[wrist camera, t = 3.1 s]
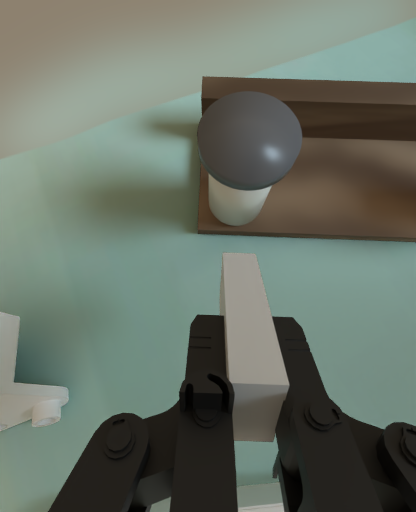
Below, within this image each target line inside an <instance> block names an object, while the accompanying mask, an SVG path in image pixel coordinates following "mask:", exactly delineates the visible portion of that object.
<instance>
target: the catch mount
mask: <svg viewBox="0 0 416 512" xmlns="http://www.w3.org/2000/svg"><path fill="white" fill-rule="evenodd" d="M243 91H253V92H260V93H264V94H267V95H270V96H273V97H275V98H277V99H278V100H280V101H282V102H283V103H284V104H286V105H287V106H288V107H289V108H290V109H291V110H292V112H293V113H294V114H295V116H296V117H297V119H298V121H299V124H300V127H301V130H302V145H301V149H300V152H299V154H298V156H297V158H296V160H295V162H294V164H293V166H292V168H291V170H290V171H289V172H288V174H287V175H286V176H285V177H284V178H283V179H282V180H280V181H279V182H278V183H276V184H274V185H272V187H271V189H270V191H269V193H268V195H267V198H266V200H265V202H264V204H263V207H262V209H261V211H260V213H259V214H258V216H257V217H256V218H255V219H254V220H253V221H251V222H250V223H247V224H245V225H240V226H232V225H228V224H225V223H223V222H221V221H219V220H218V219H217V218H216V217H215V216H214V215H213V213H212V212H211V210H210V207H209V173H208V172H207V171H206V169H205V168H204V166H203V164H202V162H201V173H200V192H199V211H198V234H220V235H247V236H273V237H300V238H326V239H353V240H379V241H406V242H416V83H397V82H365V81H332V80H299V79H267V78H233V77H203V80H202V96H201V101H202V115H203V114H204V112H205V111H206V110H207V109H208V107H209V106H210V105H212V104H213V103H214V102H215V101H217V100H218V99H220V98H222V97H224V96H226V95H229V94H232V93H236V92H243Z"/></svg>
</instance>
